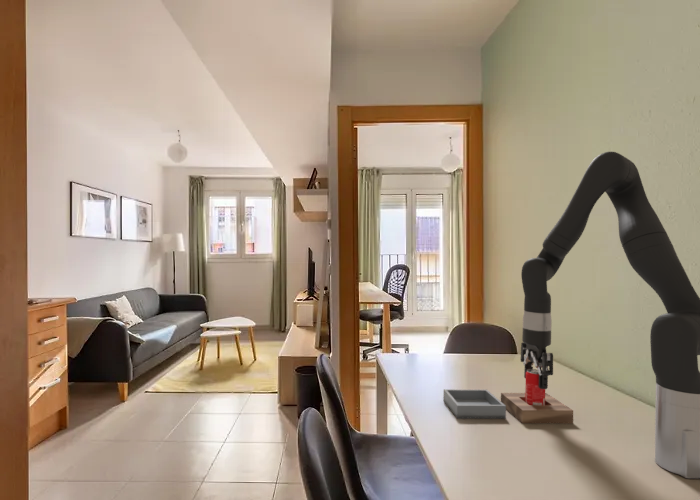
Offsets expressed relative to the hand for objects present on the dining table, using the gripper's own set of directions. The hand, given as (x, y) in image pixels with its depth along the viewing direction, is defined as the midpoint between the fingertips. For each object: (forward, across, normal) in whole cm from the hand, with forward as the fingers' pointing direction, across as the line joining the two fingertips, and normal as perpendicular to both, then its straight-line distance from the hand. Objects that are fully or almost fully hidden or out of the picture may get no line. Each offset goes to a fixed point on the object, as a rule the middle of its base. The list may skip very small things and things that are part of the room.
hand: (535, 383), depth 118 cm
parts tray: (+8, +2, +17) cm, 19 cm away
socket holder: (+8, 0, 0) cm, 8 cm away
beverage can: (+9, 0, 0) cm, 9 cm away
